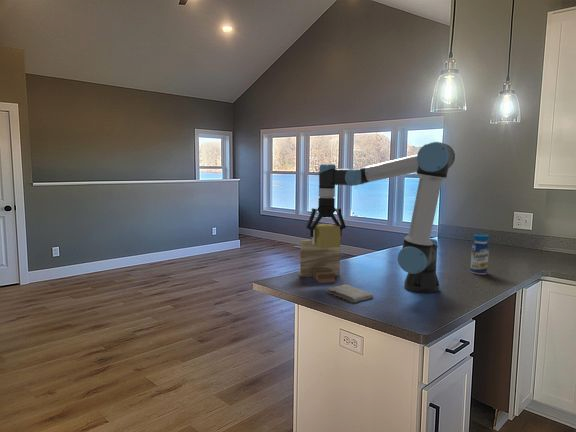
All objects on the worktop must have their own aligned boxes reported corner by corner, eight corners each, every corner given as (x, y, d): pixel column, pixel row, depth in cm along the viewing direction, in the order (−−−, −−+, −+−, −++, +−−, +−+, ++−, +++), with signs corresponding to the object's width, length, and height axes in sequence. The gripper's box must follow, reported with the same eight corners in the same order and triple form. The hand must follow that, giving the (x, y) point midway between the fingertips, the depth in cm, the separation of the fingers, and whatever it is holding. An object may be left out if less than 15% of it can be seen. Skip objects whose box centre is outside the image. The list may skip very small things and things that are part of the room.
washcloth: (344, 288, 189) (344, 282, 188) (374, 299, 174) (374, 292, 174) (324, 293, 182) (324, 286, 181) (354, 304, 167) (354, 297, 167)
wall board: (347, 281, 198) (348, 244, 196) (306, 283, 195) (306, 245, 193) (336, 273, 214) (337, 238, 212) (298, 274, 211) (299, 239, 209)
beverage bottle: (486, 271, 221) (488, 234, 219) (489, 275, 213) (491, 236, 211) (468, 270, 224) (471, 233, 221) (471, 274, 215) (473, 235, 213)
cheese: (310, 244, 201) (311, 224, 200) (331, 243, 204) (331, 223, 203) (319, 248, 191) (320, 227, 190) (341, 247, 195) (341, 226, 194)
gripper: (348, 196, 201) (347, 241, 203) (300, 196, 196) (299, 242, 199) (353, 197, 194) (352, 244, 196) (303, 198, 189) (303, 245, 192)
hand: (325, 243), depth 198 cm, fingers closed on cheese, 11 cm apart
